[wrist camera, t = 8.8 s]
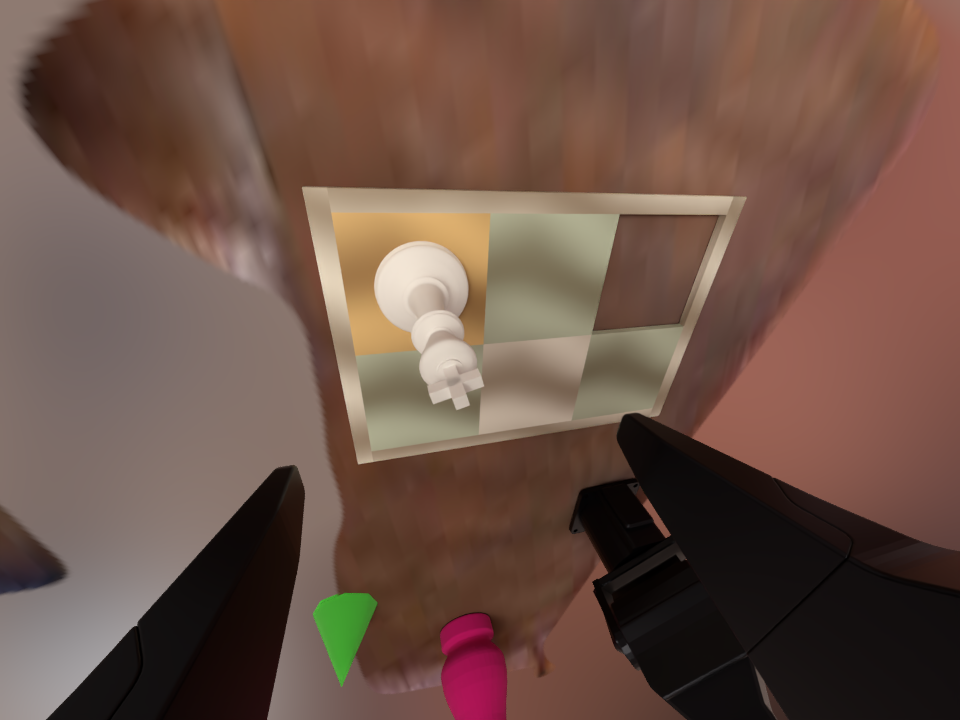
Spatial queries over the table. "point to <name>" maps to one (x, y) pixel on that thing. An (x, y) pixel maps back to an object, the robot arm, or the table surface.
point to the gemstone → (343, 627)
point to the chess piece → (431, 315)
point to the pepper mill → (473, 669)
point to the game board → (499, 311)
